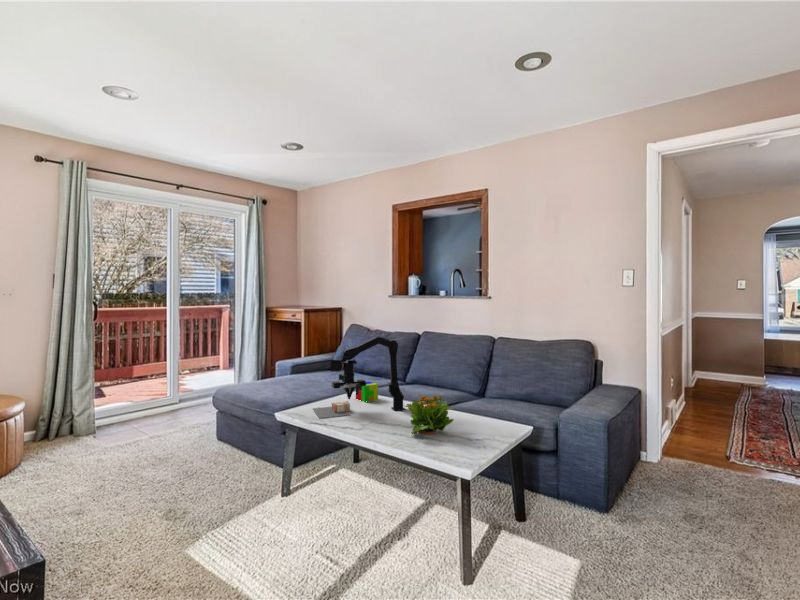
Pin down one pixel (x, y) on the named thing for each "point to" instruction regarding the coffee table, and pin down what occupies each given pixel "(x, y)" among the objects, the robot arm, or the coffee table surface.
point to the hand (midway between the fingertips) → (349, 398)
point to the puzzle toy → (367, 392)
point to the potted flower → (429, 415)
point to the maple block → (340, 406)
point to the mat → (329, 412)
